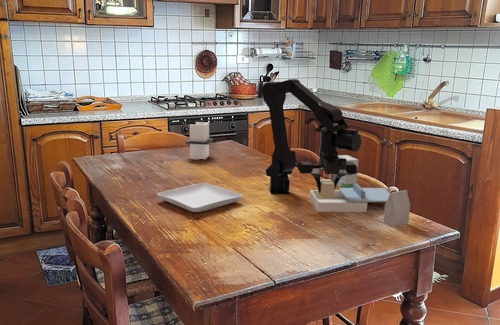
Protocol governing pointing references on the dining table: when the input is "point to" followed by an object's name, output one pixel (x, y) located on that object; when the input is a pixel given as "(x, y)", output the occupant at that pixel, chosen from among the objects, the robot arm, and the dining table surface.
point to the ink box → (348, 178)
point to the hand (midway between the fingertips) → (325, 192)
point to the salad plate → (199, 197)
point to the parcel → (326, 189)
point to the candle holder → (199, 140)
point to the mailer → (336, 203)
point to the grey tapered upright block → (397, 209)
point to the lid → (365, 194)
